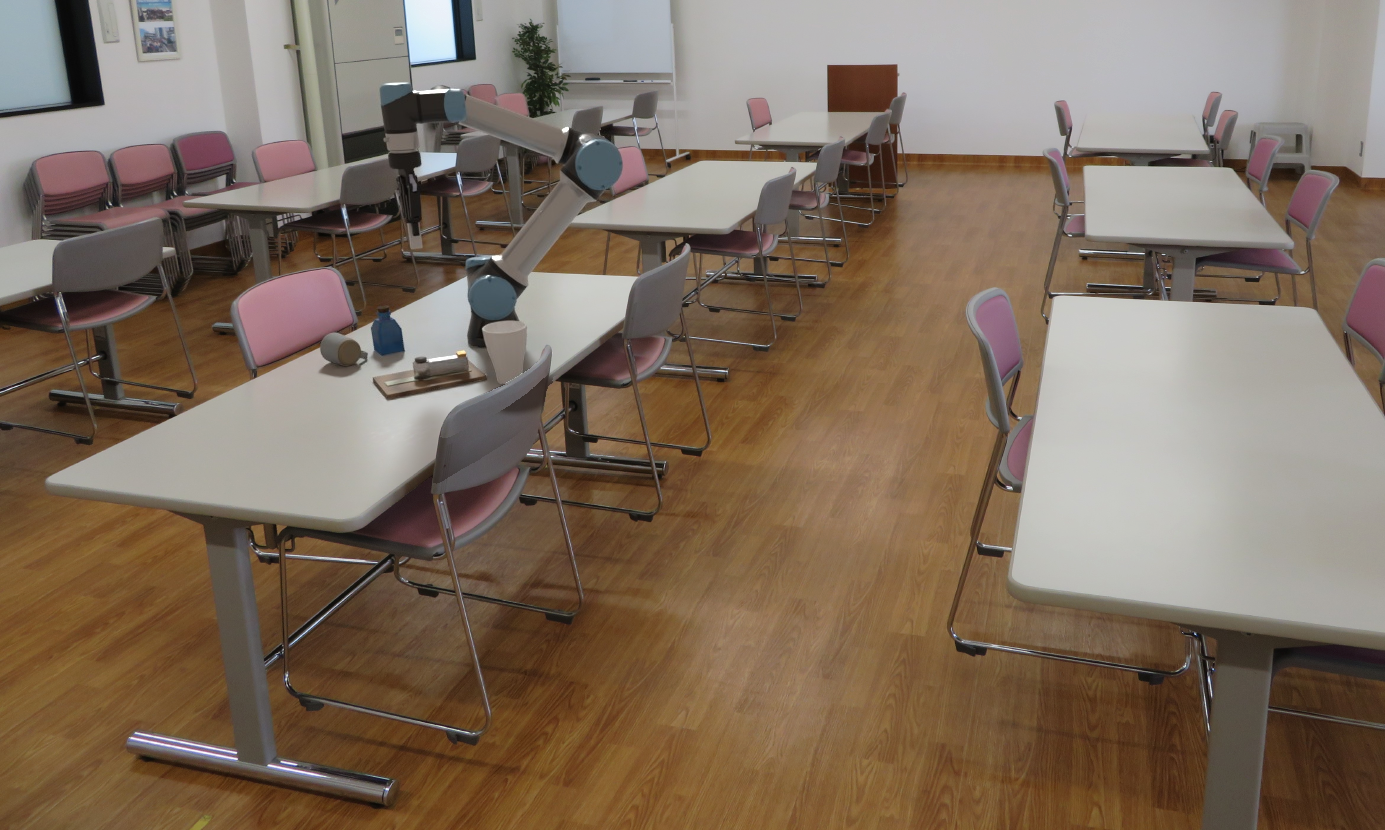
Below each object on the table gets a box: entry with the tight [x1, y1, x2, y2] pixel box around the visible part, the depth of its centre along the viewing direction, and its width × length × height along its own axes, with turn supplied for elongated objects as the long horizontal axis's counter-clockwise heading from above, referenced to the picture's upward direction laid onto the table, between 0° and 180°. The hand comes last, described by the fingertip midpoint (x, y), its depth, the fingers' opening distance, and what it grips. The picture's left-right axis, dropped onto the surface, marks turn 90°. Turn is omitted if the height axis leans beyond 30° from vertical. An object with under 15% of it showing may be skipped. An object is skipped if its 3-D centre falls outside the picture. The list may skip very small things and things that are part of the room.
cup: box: [482, 320, 528, 385], centre depth 254 cm, size 10×10×14 cm
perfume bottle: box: [370, 305, 406, 356], centre depth 280 cm, size 6×6×12 cm
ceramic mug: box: [319, 332, 369, 367], centre depth 273 cm, size 11×8×8 cm
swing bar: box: [412, 350, 469, 378], centre depth 258 cm, size 13×4×4 cm, turn 113°
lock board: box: [372, 356, 488, 400], centre depth 257 cm, size 24×15×6 cm, turn 118°
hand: (416, 248), depth 262 cm, fingers closed
